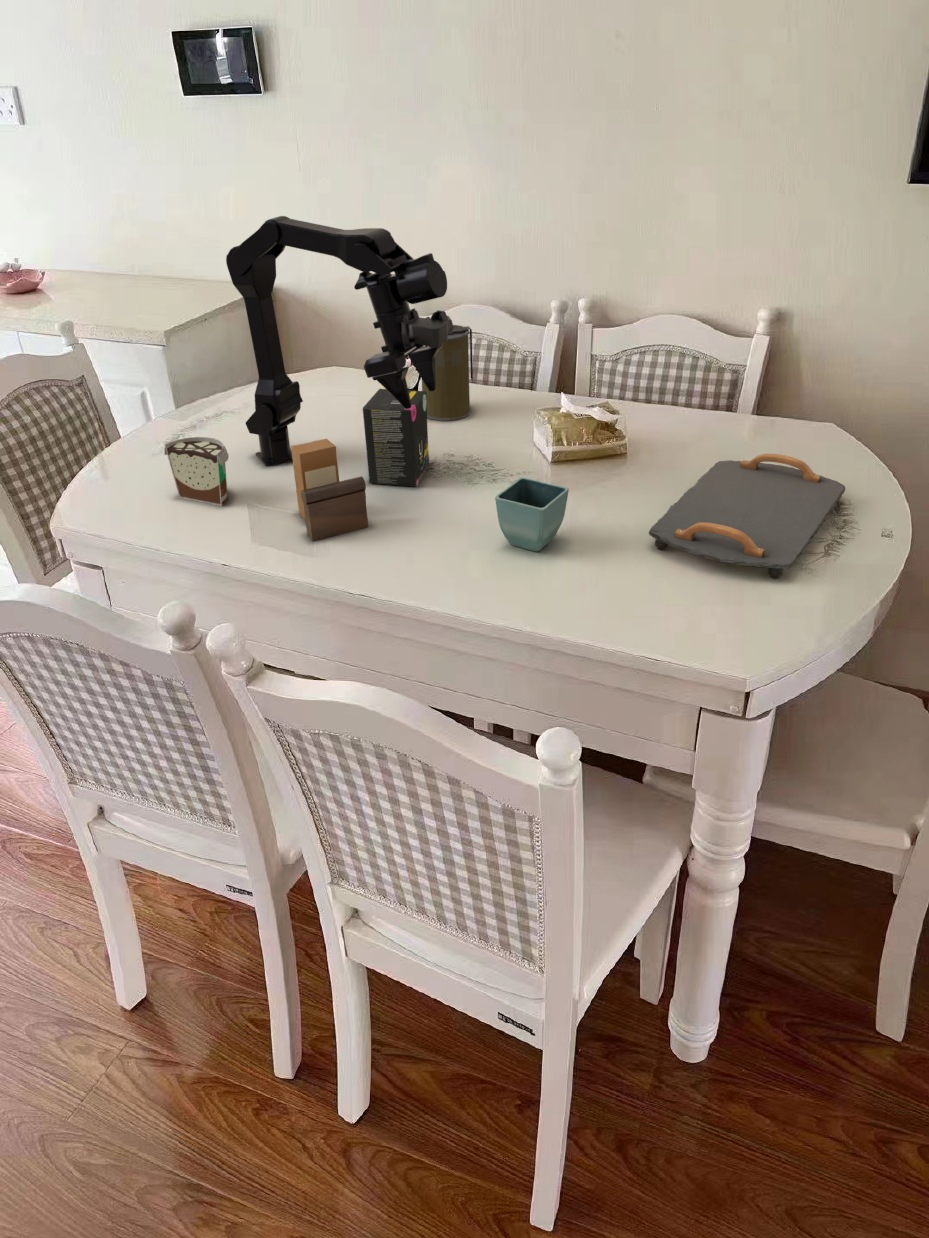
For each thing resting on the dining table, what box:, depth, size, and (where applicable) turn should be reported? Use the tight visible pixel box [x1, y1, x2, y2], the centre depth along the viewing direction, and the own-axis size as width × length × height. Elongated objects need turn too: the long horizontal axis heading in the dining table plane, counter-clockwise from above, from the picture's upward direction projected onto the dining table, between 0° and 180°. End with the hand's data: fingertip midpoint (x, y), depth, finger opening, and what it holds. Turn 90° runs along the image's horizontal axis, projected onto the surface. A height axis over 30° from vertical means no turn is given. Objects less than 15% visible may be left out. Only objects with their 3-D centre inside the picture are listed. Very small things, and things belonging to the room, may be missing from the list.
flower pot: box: [494, 477, 570, 552], centre depth 153 cm, size 9×9×9 cm
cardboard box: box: [290, 438, 340, 520], centre depth 163 cm, size 4×6×12 cm, turn 119°
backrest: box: [301, 476, 369, 542], centre depth 158 cm, size 2×10×9 cm, turn 119°
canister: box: [421, 315, 474, 422], centre depth 201 cm, size 11×10×20 cm
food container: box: [163, 436, 230, 507], centre depth 171 cm, size 12×6×10 cm, turn 65°
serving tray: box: [648, 453, 846, 580], centre depth 158 cm, size 39×23×6 cm, turn 148°
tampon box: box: [362, 388, 430, 487], centre depth 176 cm, size 11×9×15 cm
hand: (421, 399), depth 167 cm, fingers open, 9 cm apart
